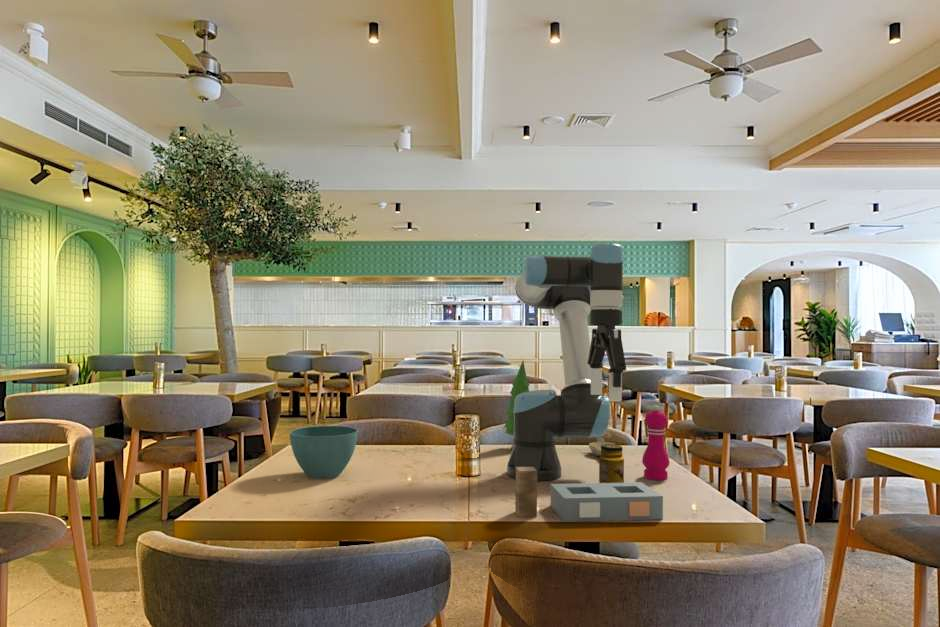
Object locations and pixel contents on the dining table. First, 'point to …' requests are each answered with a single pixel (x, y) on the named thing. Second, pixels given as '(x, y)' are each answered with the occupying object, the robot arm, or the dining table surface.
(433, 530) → the dining table surface
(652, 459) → the pepper mill
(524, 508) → the plug
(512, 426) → the decorative tree
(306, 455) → the plant pot
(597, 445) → the oil lamp
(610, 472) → the condiment
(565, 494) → the socket block
